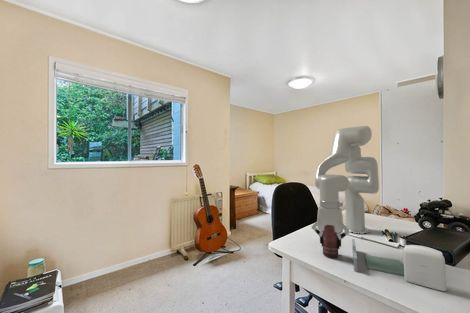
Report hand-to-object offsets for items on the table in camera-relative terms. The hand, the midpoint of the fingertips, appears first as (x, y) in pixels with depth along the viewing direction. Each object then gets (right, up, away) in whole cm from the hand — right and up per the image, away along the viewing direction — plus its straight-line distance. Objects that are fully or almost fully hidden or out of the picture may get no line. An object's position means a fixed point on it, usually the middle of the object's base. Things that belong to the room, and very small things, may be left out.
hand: (330, 246), depth 90 cm
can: (0, -4, 0) cm, 4 cm away
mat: (+17, -4, -9) cm, 19 cm away
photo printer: (+21, -3, -21) cm, 30 cm away
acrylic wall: (+8, -4, -4) cm, 10 cm away
